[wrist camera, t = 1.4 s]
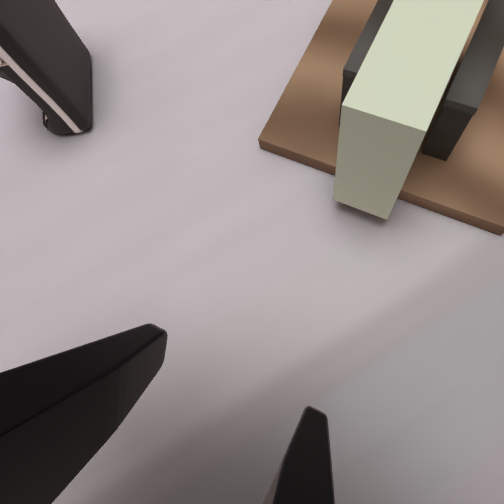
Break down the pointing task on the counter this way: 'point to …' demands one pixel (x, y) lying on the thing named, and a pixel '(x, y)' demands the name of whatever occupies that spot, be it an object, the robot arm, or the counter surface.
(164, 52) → the counter surface
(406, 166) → the bar
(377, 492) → the counter surface
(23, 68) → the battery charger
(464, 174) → the wooden channel stand
